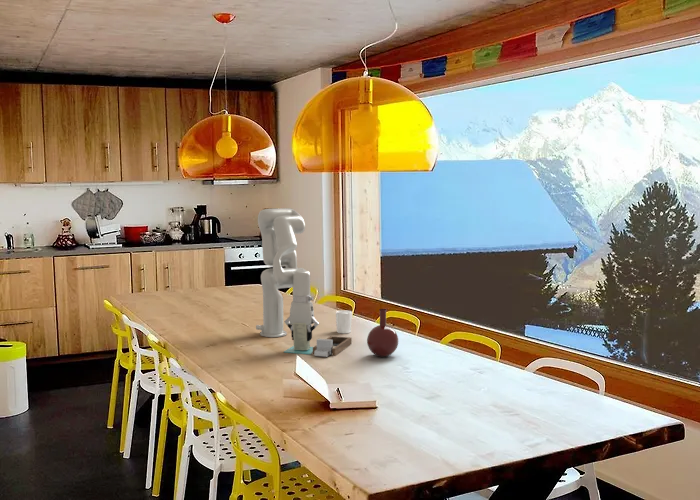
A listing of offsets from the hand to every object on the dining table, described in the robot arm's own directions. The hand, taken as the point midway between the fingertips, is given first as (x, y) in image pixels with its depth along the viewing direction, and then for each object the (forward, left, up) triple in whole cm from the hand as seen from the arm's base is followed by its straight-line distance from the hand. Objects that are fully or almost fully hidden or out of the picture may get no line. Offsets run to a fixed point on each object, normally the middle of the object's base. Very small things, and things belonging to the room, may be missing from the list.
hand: (301, 339), depth 326 cm
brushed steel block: (+12, -6, -4) cm, 14 cm away
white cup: (+6, +41, -5) cm, 42 cm away
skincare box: (0, 0, -4) cm, 4 cm away
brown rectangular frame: (+12, +6, -5) cm, 14 cm away
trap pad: (+12, +14, -5) cm, 19 cm away
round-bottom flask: (+36, +1, -5) cm, 36 cm away
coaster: (0, 0, -5) cm, 5 cm away
